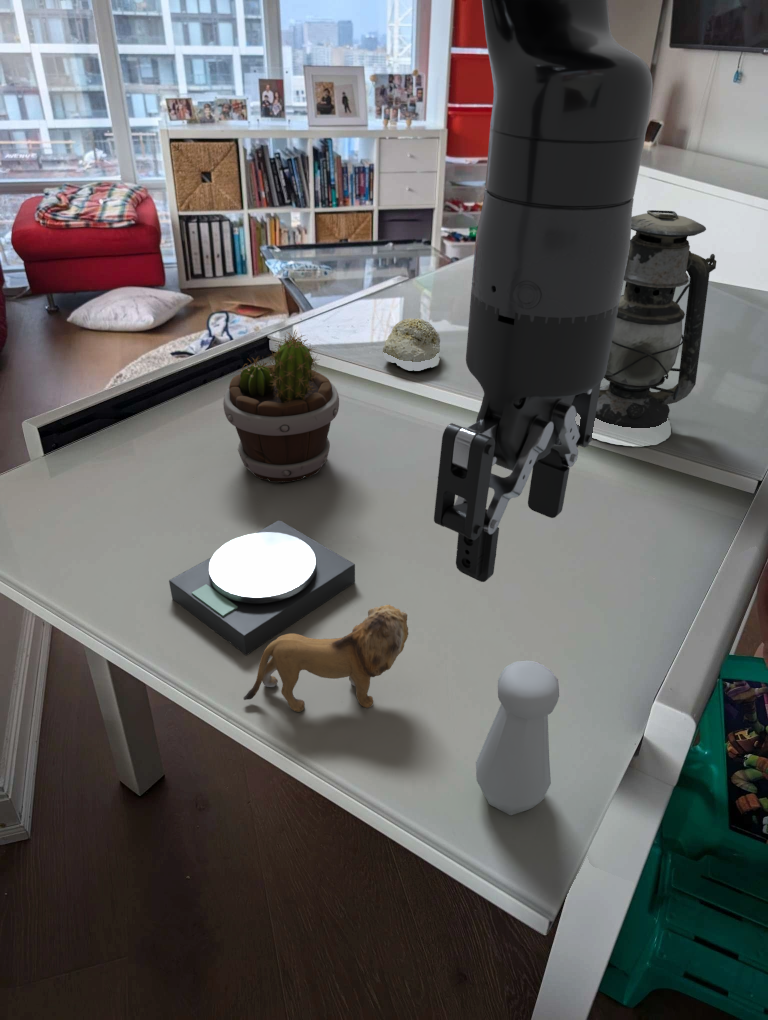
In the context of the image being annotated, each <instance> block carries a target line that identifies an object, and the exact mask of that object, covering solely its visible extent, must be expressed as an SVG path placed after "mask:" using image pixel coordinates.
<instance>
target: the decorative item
mask: <svg viewBox="0 0 768 1020" xmlns="http://www.w3.org/2000/svg"><path fill="white" fill-rule="evenodd" d="M440 343H441V338H440V334H439V333H438V331H437V330H436V328H435V327H434V326H433V325H432V324H431V323H430V322H428V321H426V320H425V319H422V318H413V317H410V318H405V319H402V320H400V321H398V322H397V323H395V325H394V326H393V327H392V329H391V333H389V335H388V336H387V338H386V339H385V342H384V345H383V347H382V353H383V352H384V353H387V354H388V355H391V356H393V357H395V358H397V359H399V360H403V361H412V362H421V361H425V360H430V359H432V358H434V357H435V356H436V354H437V353H439V352H440V351H441V348H440V347H441V345H440ZM440 353H441V352H440Z"/></svg>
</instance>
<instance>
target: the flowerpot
mask: <svg viewBox="0 0 768 1020" xmlns="http://www.w3.org/2000/svg"><path fill="white" fill-rule="evenodd" d="M296 330H297V329H295V330H294V332H293V335H291V333H290V332H288V331H286V333H287V334H288V337H287V336H286V333H285V334H284V338H283V339H280V340H277V341H278V343H277V344H275V345H274V347H275V349H271V350H270V351H271V353H272V354H271V356H270V357H269V361H267V362H263V363H261V361H259V360H260V355H257V357H256V358H252V360H253V362H252V361H251V360H250V359H249V358H247V360H248V361H249V362H250V366H249V365H248V362H247V363H244V365H243V366H242V368H241V370H237V373H239V372H240V373H239V374H237V375H235V376H234V377H232V378H231V380H230V382H229V387H228V388H227V389H226V391H225V393H224V395H223V403H222V405H223V412H224V415H225V418H226V419H227V421H228V422H229V423H230V425H232V426H233V427H235V431H236V433H237V435H238V438H239V440H240V441H239V443H238V447H237V449H238V454H239V456H240V459H241V462H242V464H243V466H244V467H245V468H246V469H247V470H248V471H250V473H251V474H253V475H254V477H256V478H258V479H260V480H264V481H267V480H268V481H269V482H272V483H289V482H291V483H292V482H295V481H301V480H303V479H304V478H310V477H313V476H314V475H316V474H317V473H319V471H321V469H322V468H323V466H324V464H325V463H326V462H327V460H328V457H329V454H330V447H331V442H330V440H329V438H328V434H329V432H330V427H331V424H332V421H333V420H334V419H336V417H337V415H338V413H339V410H340V409H339V408H340V397H339V392H338V390H337V388H336V386H335V385H334V384H333V383H332V382H331V381H330V379H329V378H328V377H327V376H325V375H323V374H322V373H320V372H318V371H317V367H316V365H318V362H317V361H316V360H318V361H320V360H321V359H317V358H318V355H316V356H314V355H315V351H316V348H317V347H314V346H313V347H308V346H311V343H306V342H307V341H308V340H309V338H307V339H304V340H302V337H305V336H306V334H304V335H303V334H301V335H299V336H297V334H298V332H297V331H296ZM282 341H283V342H282ZM273 352H274V353H273ZM313 353H314V354H313ZM266 356H269V354H267V355H266ZM313 356H314V357H313ZM262 359H264V357H263V356H262ZM271 360H272V361H271ZM271 362H272V363H271ZM268 364H269V365H268ZM245 366H246V367H245ZM313 368H315V369H313Z"/></svg>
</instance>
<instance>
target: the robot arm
mask: <svg viewBox="0 0 768 1020" xmlns="http://www.w3.org/2000/svg"><path fill="white" fill-rule="evenodd" d="M481 3H482V4H481V5H482V13H483V23H484V24H483V25H484V32H485V41H486V47H487V54H488V59H489V65H490V70H491V71H490V72H491V77H492V86H493V99H492V106H491V108H492V109H491V116H490V127H489V135H488V136H489V138H488V148H487V149H488V150H487V162H486V173H485V185H484V187H485V189H484V193H483V199H482V206H481V212H480V215H479V220H478V223H477V224H478V225H477V229H476V234H475V243H474V252H473V253H474V255H473V265H472V267H473V268H472V279H471V290H470V302H469V313H468V314H469V315H468V327H467V339H466V340H467V341H466V352H465V364H466V367H467V369H468V371H469V372H470V374H471V375H472V376H473V377H474V378H475V380H476V381H477V382H478V383H479V385H480V387H481V389H482V391H483V397H482V401H481V405H480V407H479V411H478V414H477V416H476V422H474V423H473V424H471V425H469V426H467V427H465V426H462V425H458V424H456V423H453V422H451V423H449V424H448V425H447V426H445V429H444V430H443V433H442V437H441V445H440V455H439V456H440V457H439V466H438V474H437V475H438V476H437V485H436V486H437V487H436V492H435V493H436V494H435V503H434V513H433V522H434V524H436V525H439V526H440V527H444V528H446V529H449V530H450V531H453V532H455V533H457V544H456V545H457V546H456V556H455V565H456V569H457V570H458V571H459V572H460V573H462V574H464V575H466V576H467V577H470V578H472V579H474V580H475V581H478V582H480V583H486V582H487V581H488V580H489V579H490V578H491V577H492V576H493V575H494V572H495V566H496V555H497V550H498V541H499V532H500V527H499V525H500V523H501V520H502V518H503V516H504V513H505V511H506V510H507V509H506V508H507V506H508V504H509V502H510V501H511V499H515V498H519V497H520V496H521V495H522V493H523V492H524V491H523V490H524V489H525V486H526V484H527V481H528V479H529V477H530V476H531V477H530V484H529V491H528V499H527V506H528V508H529V509H530V510H531V511H533V512H535V513H537V514H541V515H542V516H545V517H547V518H550V519H554V518H556V517H557V516H558V515H560V514H561V513H562V511H563V507H564V502H565V496H566V491H567V486H568V481H569V474H570V468H571V467H573V466H574V465H575V464H576V462H577V460H578V457H579V449H578V447H582V448H587V447H588V446H589V445H590V443H591V441H592V439H593V438H592V433H593V427H594V421H595V415H596V409H597V403H598V397H599V391H600V387H601V383H602V381H603V380H604V379H605V378H604V376H605V374H606V369H607V364H608V359H609V354H610V349H611V344H612V338H613V333H614V328H615V323H616V318H617V313H618V307H619V302H620V297H621V295H622V290H623V287H624V282H625V281H624V276H625V271H626V265H627V260H628V254H629V248H630V240H631V239H632V237H631V236H632V229H631V218H632V217H633V207H634V199H635V195H636V189H637V185H638V183H637V182H638V177H639V172H640V167H641V163H642V162H641V161H642V156H643V151H644V146H645V140H646V134H647V130H648V125H649V121H650V115H651V108H652V100H653V86H654V85H653V82H654V81H653V75H652V71H651V69H650V67H649V65H648V64H647V62H646V61H645V60H644V59H643V58H642V57H640V56H638V55H637V54H636V53H634V52H633V51H631V50H629V49H627V48H626V47H624V46H622V45H621V44H619V42H618V41H616V39H615V38H614V36H613V35H612V34H613V33H612V31H611V24H610V21H611V20H610V11H609V0H481ZM577 413H578V414H579V415H580V417H581V419H580V426H579V425H577V424H576V421H575V417H576V416H577ZM494 465H497V466H499V467H501V468H505V469H507V470H509V471H511V473H510V474H509V475H508V476H503V477H502V476H499V475H497V474H494V473H492V470H493V469H492V468H493V466H494ZM489 489H492V490H493V491H494V494H493V496H492V498H491V501H490V503H489V505H488V508H487V503H488V496H489V491H490V490H489ZM456 496H457V498H456Z"/></svg>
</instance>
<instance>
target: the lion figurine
mask: <svg viewBox="0 0 768 1020" xmlns="http://www.w3.org/2000/svg"><path fill="white" fill-rule="evenodd" d="M408 637H409V627H408V614H407V612H405V611H401V609H400V608H396V607H394V606H392V605H391V604H385V605H380V606H374V607H372V608H368V611H367V616H366V617H365V618H364V620H363V621H362V622H360V623H359V624H356V625H355V626H354V627H353V628H352V631H351V632H350V633H348V634H347V635H345V636H343V637H337V638H311V637H308V636H305V635H302V634H298V633H285V634H282V635H280V636H278V637H276V639H274V640H273V641H271V642H270V643H269V644H267V646H266V647H265V649H264V651H263V653H262V655H261V658H260V661H259V665H258V670H257V674H256V675H257V676H256V680H255V682H254V685H253V686H252V688H251V689H250V690H249V691H248V692H247V693H246V695H244V696H243V700H244V701H247V700H248V701H249V700H252V699H253V698H254V697H256V695H257V693H258V691H259V689H260V687H261V685H262V684H263V685H264V687H267V688H274V687H276V686H277V685H278V683H279V682H278V678H276V676H273V675H272V674H273V673H275V672H276V671H277V673H278V676H279V677H280V680H281V682H282V686H281V690H280V692H281V695H282V696H283V698H284V699H285V700H286V702H287V704H288V706H289V708H290V709H291V710H292V711H294V712H295V713H300V712H303V711H304V710H305V707H306V705H305V701H304V700H303V699H302V698H301V699H300V698H296V697H295V696H294V688H295V687H296V684H297V683H298V681H299V678H300V672H301V671H306V672H308V673H310V674H312V675H313V676H314V675H315V676H317V677H318V678H324V679H334V680H335V679H336V680H337V679H343V678H348V681H349V682H350V684H351V685H352V686H354V687H355V692H356V693H355V696H356V699H357V701H358V703H359V705H360V706H361V707H363V708H366V709H369V708H371V707H373V704H374V698H373V696H372V695H368V692H369V691H370V690H369V689H370V685H371V678H375V677H379V676H381V675H382V674H383V673H384V672H386V671H389V670H390V669H391V668H392V666H393V665H394V664H395V661H396V660H397V658H398V656H399V655H400V654H401V653H402V652H403V651H404V648H405V643H406V642H407V640H408Z"/></svg>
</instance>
